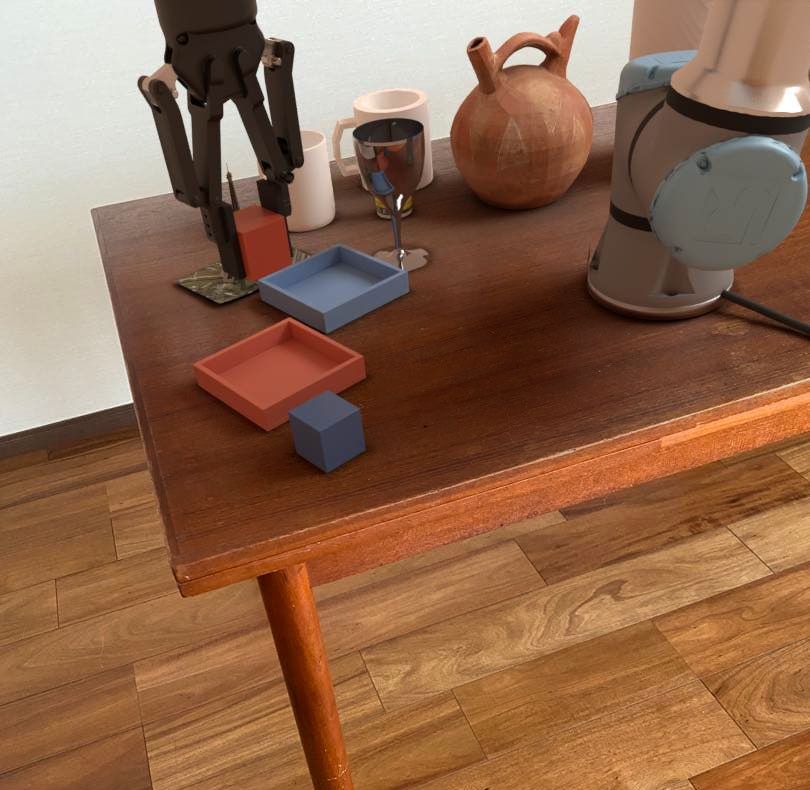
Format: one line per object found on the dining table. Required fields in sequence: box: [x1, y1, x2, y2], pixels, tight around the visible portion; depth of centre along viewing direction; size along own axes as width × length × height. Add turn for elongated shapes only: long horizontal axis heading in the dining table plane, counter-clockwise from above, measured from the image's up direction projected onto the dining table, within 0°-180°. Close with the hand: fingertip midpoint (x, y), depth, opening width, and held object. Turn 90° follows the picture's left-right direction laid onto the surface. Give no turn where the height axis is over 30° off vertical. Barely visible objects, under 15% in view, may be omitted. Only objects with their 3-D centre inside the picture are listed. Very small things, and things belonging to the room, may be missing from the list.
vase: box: [628, 0, 712, 62], centre depth 112 cm, size 14×14×32 cm
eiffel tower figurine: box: [174, 162, 311, 304], centre depth 103 cm, size 15×10×13 cm
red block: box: [233, 203, 292, 282], centre depth 79 cm, size 4×4×4 cm
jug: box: [449, 14, 595, 211], centre depth 113 cm, size 18×18×20 cm
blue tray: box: [258, 242, 410, 335], centre depth 101 cm, size 12×12×2 cm
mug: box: [331, 87, 434, 192], centre depth 122 cm, size 14×10×11 cm
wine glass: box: [351, 118, 430, 272], centre depth 102 cm, size 8×8×15 cm
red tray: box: [192, 317, 367, 433], centre depth 88 cm, size 12×12×2 cm
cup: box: [256, 129, 336, 233], centre depth 116 cm, size 8×12×10 cm
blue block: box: [288, 390, 367, 474], centre depth 78 cm, size 4×4×4 cm
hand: (258, 263), depth 81 cm, fingers closed on red block, 4 cm apart
